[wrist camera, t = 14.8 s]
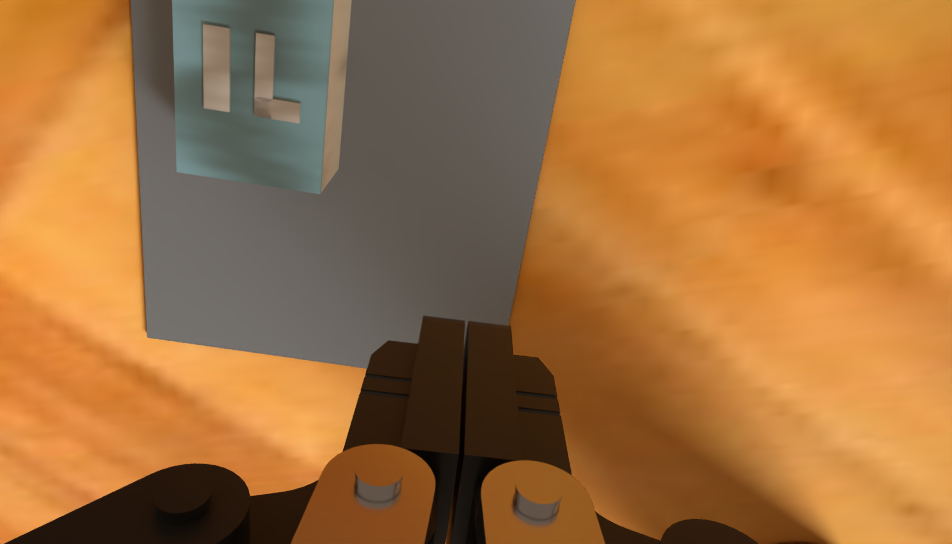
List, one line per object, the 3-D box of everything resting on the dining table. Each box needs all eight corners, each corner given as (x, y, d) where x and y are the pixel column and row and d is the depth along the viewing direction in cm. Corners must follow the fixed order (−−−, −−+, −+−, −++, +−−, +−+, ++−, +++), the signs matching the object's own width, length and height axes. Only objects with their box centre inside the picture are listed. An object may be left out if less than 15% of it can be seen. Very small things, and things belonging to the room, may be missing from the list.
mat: (495, 383, 37) (495, 386, 37) (149, 334, 36) (147, 337, 36) (584, -49, 28) (585, -49, 28) (127, -131, 27) (124, -132, 27)
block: (175, 173, 28) (168, -66, 24) (211, 148, 32) (210, -62, 28) (319, 195, 28) (334, -38, 24) (338, 168, 32) (354, -37, 28)
